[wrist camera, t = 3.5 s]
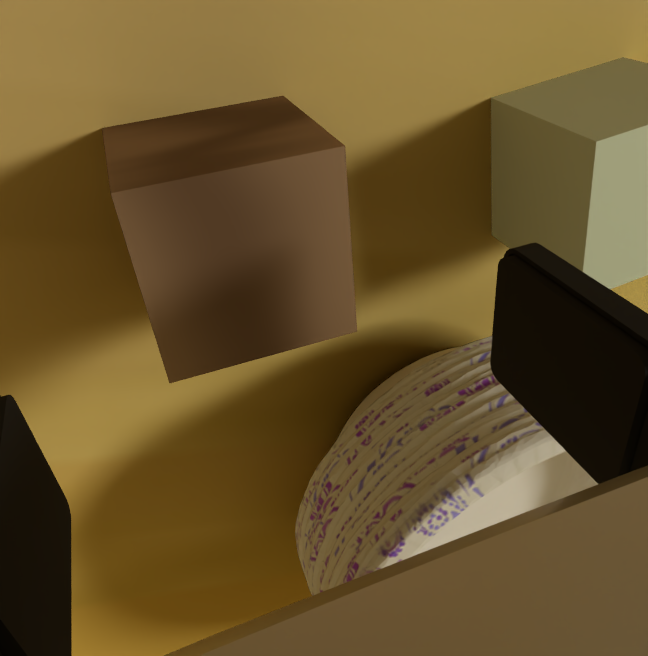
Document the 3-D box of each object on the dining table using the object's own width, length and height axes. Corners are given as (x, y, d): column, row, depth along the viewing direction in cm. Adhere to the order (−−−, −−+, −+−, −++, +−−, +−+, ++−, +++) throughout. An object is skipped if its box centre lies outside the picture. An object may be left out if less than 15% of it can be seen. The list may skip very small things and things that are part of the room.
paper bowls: (569, 473, 33) (685, 601, 27) (312, 588, 30) (374, 758, 24) (589, 231, 24) (774, 339, 17) (225, 369, 21) (287, 551, 15)
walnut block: (282, 94, 17) (345, 145, 13) (301, 251, 20) (357, 331, 16) (102, 127, 16) (110, 193, 12) (150, 287, 19) (169, 383, 15)
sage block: (621, 56, 20) (755, 89, 16) (605, 193, 23) (714, 249, 19) (489, 97, 19) (596, 141, 15) (490, 234, 22) (579, 300, 18)
